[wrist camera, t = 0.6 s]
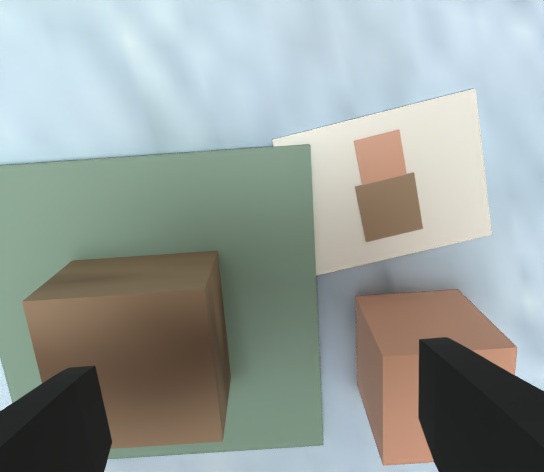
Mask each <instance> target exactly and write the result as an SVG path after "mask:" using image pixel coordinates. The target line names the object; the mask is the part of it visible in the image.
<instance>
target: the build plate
mask: <svg viewBox="0 0 544 472" xmlns="http://www.w3.org/2000/svg"><path fill="white" fill-rule="evenodd" d="M204 251H218V260H219V269H220V279H221V288H222V297H223V306H224V316H225V325H226V334H227V343H228V353H229V362H230V371H231V382H230V390H229V398H228V406H227V414H226V421H225V429H224V437H223V442H209V443H194V444H178V445H163V446H147V447H132V448H117V449H110V452H109V456H108V459H119V458H134V457H150V456H165V455H181V454H196V453H212V452H227V451H243V450H258V449H274V448H289V447H305V446H320V445H323V423H322V400H321V377H320V354H319V330H318V307H317V284H316V261H315V238H314V214H313V191H312V168H311V145H310V144H303V145H289V146H275V147H274V146H268V147H254V148H240V149H225V150H211V151H197V152H183V153H168V154H154V155H140V156H126V157H111V158H97V159H83V160H69V161H54V162H40V163H26V164H12V165H0V358H1V362H2V366H3V369H4V373H5V377H6V381H7V384H8V388H9V392H10V395H11V399H12V403H14V402H15V401H17V400H18V399H20V398H21V397H22V396H24V395H25V394H27V393H28V392H30V391H31V390H33V389H34V388H36V387H37V386H39V385H40V384H42V382H41V378H40V374H39V369H38V365H37V361H36V357H35V353H34V349H33V345H32V341H31V337H30V333H29V329H28V325H27V321H26V317H25V312H24V308H23V304H22V301H23V300H24V299H26V298H27V297H28V296H29V295H31V294H32V293H33V292H34V291H35V290H37V289H38V288H39V287H40V286H42V285H43V284H44V283H45V282H46V281H48V280H49V279H50V278H51V277H53V276H54V275H55V274H56V273H57V272H59V271H60V270H61V269H62V268H64V267H65V266H66V265H67V264H69V263H70V262H71V261H72V260H87V259H102V258H116V257H131V256H145V255H160V254H175V253H189V252H204Z"/></svg>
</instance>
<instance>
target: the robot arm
mask: <svg viewBox="0 0 544 472" xmlns="http://www.w3.org/2000/svg"><path fill="white" fill-rule="evenodd" d="M418 418H419V421H420V424H421V427H422V430H423V433H424V436H425V439H426V441H427V444H428V447H429V450H430V452H431V455H432V458H433V460H434V463H435V465H436V467H437V469H438V471H439V472H544V391H542V390H540V389H539V388H537V387H535V386H533V385H531V384H529V383H527V382H526V381H524V380H522V379H520V378H519V377H517V376H515V375H513V374H511V373H510V372H508V371H506V370H504V369H503V368H501V367H499V366H498V365H496V364H494V363H492V362H491V361H489V360H487V359H486V358H484V357H482V356H480V355H479V354H477V353H475V352H474V351H472V350H470V349H468V348H467V347H465V346H463V345H461V344H460V343H458V342H456V341H454V340H452V339H450V338H448V337H441V338H428V339H419V398H418ZM111 445H112V438H111V434H110V429H109V425H108V420H107V415H106V411H105V406H104V402H103V397H102V393H101V388H100V384H99V379H98V375H97V370H96V366H83V367H71V368H67V369H65V370H63V371H61V372H60V373H58V374H56V375H54V376H53V377H51V378H50V379H48V380H47V381H45V382H43V383H42V384H40V385H39V386H37V387H36V388H34V389H33V390H31V391H30V392H28V393H27V394H25V395H24V396H22V397H21V398H20V399H18V400H17V401H15V402H14V403H12V404H11V405H9V406H8V407H6V408H5V409H3V410H2V411H0V472H104V470H105V467H106V463H107V459H108V456H109V452H110V449H111Z"/></svg>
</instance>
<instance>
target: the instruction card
mask: <svg viewBox="0 0 544 472" xmlns="http://www.w3.org/2000/svg"><path fill="white" fill-rule="evenodd" d="M272 142H273V146H274V147H275V146H289V145H303V144H310V145H311V168H312V191H313V214H314V238H315V261H316V276H318V275H322V274H327V273H331V272H335V271H339V270H344V269H348V268H352V267H356V266H361V265H365V264H369V263H374V262H378V261H382V260H386V259H391V258H395V257H399V256H404V255H408V254H412V253H416V252H421V251H425V250H429V249H433V248H438V247H442V246H446V245H451V244H455V243H459V242H463V241H468V240H472V239H476V238H480V237H485V236H489V235H492V230H491V221H490V213H489V204H488V195H487V186H486V177H485V168H484V159H483V150H482V141H481V133H480V124H479V115H478V106H477V97H476V88H475V89H470V90H466V91H462V92H458V93H454V94H450V95H446V96H442V97H438V98H434V99H430V100H426V101H422V102H418V103H414V104H410V105H407V106H403V107H399V108H395V109H391V110H387V111H383V112H379V113H375V114H371V115H367V116H363V117H359V118H355V119H351V120H347V121H343V122H339V123H335V124H331V125H327V126H324V127H320V128H316V129H312V130H308V131H304V132H300V133H296V134H292V135H288V136H284V137H280V138H276V139H272Z"/></svg>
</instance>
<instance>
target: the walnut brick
mask: <svg viewBox="0 0 544 472" xmlns="http://www.w3.org/2000/svg"><path fill="white" fill-rule="evenodd" d="M22 304H23V308H24V312H25V317H26V321H27V325H28V329H29V333H30V337H31V341H32V345H33V349H34V353H35V357H36V361H37V365H38V369H39V374H40V378H41V382H42V383H43V382H45V381H47V380H48V379H50V378H51V377H53V376H54V375H56V374H58V373H60V372H61V371H63V370H65V369H67V368H71V367H83V366H96V370H97V375H98V379H99V384H100V388H101V393H102V397H103V402H104V406H105V411H106V415H107V420H108V425H109V429H110V434H111V438H112V445H111V449H117V448H132V447H147V446H163V445H178V444H194V443H209V442H223V437H224V429H225V421H226V414H227V406H228V398H229V390H230V382H231V371H230V362H229V353H228V343H227V334H226V325H225V316H224V306H223V297H222V288H221V279H220V269H219V260H218V251H204V252H189V253H175V254H160V255H145V256H131V257H116V258H102V259H87V260H72V261H71V262H70V263H69V264H67V265H66V266H65V267H64V268H62V269H61V270H60V271H59V272H57V273H56V274H55V275H54V276H53V277H51V278H50V279H49V280H48V281H46V282H45V283H44V284H43V285H42V286H40V287H39V288H38V289H37V290H35V291H34V292H33V293H32V294H31V295H29V296H28V297H27V298H26V299H24V300H23V301H22Z"/></svg>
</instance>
